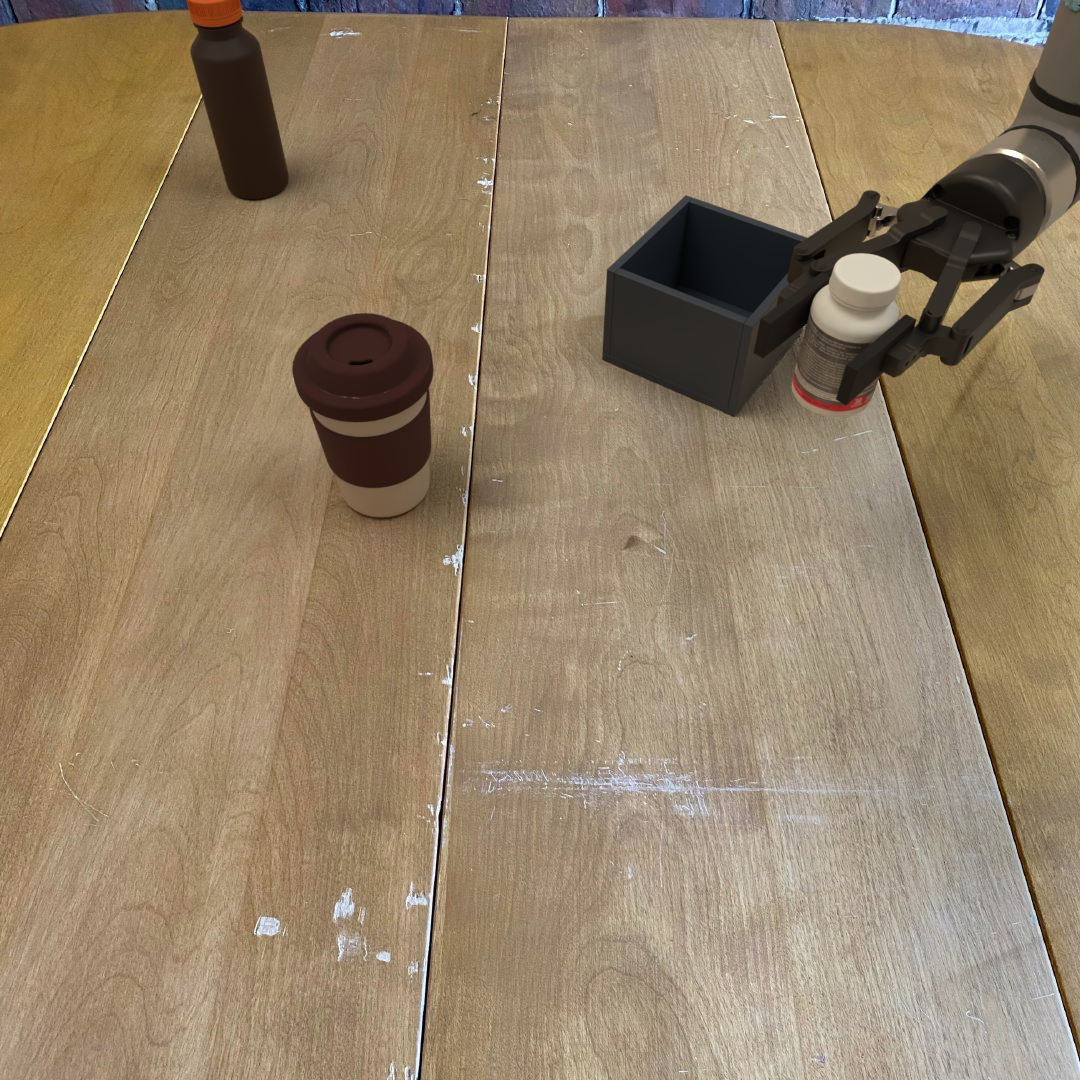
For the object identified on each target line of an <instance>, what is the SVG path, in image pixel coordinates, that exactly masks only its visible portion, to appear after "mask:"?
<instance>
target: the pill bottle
mask: <svg viewBox="0 0 1080 1080" xmlns="http://www.w3.org/2000/svg"><path fill="white" fill-rule="evenodd" d="M901 282H902V273H900V271H899V270H898V268H897V267H896V266H895V265H894V264H893V263H892V262H890V261H888V260H887V259H885V258H882V257H880V256H877V255H873V254H864V253H858V254H850V255H847V256H844V257H842V258H841V259H839V260H838V261H837V262H836V264H835V266H834V269H833V272H832V275H831V277H830V280H829V284H828V285H826V286H825V287H823V288H822V289H821V290H820V291H819V292H818V293H817V294H816V296H815V297H814V299H813V302H812V305H811V309H810V312H809V317H808V321H807V324H806V325H805V329H804V334H803V337H802V340H801V344H800V347H799V351H798V355H797V359H796V363H795V367H794V371H793V375H792V379H791V391H792V394H793V396H794V398H795V400H796V401H797V402H798V403H799V405H801V407H803V408H805V409H806V410H808V411H809V412H811V413H813V414H815V415H818V416H822V417H827V418H833V419H834V418H835V419H842V418H849V417H853V416H856V415H858V414H860V413H862V412H863V411H865V410H866V408H867V407H868V406H869V405H870V404H871V401H872V399H873V396H874V394H875V391H876V388H877V385H878V382H879V379H880V376H881V375H880V376H879V377H878V378H877V379H876V380H875V381H873V382H872V383H871V384H870V385H869V386H868V387H867V388H865V389H864V390H863V391H862V392H861V393H860V394H859V395H858V396H856V397H855V398H854V399H853V400H852V401H851V402H850V403H848V404H847V405H845V404H843V403H841V402H839V401H838V400H836V397H837V393H838V390H839V387H840V384H841V380H842V377H843V374H844V371H845V367H846V365H847V364H848V363H849V362H850V361H852V360H853V359H854V358H855V357H856V356H857V355H859V354H860V353H861V352H862V351H863V350H865V349H866V348H867V347H868V346H869V345H870V344H872V343H873V342H874V341H875V340H876V339H877V338H879V337H880V336H881V335H882V334H883V333H884V332H886V331H887V330H888V329H889V328H890V327H892V326H893V325H894V324H895V323H896V322H897V321H899V320H900V310H899V305H898V304H897V302H896V300H895V299H896V298H897V296H898V293H899V289H900V285H901Z"/></svg>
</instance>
